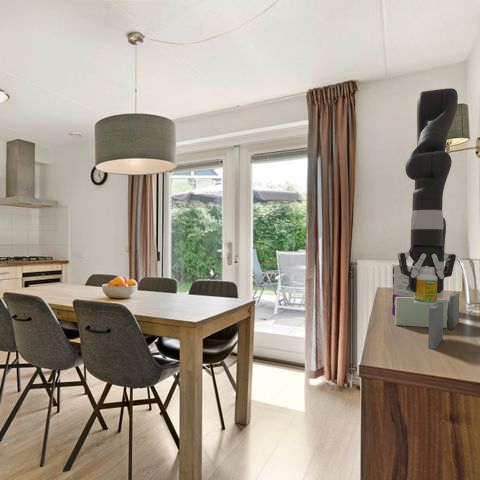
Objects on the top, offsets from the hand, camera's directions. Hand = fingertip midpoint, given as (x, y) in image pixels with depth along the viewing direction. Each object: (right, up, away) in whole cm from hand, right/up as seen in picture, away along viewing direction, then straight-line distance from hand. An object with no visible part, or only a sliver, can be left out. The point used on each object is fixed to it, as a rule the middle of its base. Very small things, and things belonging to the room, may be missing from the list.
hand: (425, 292), depth 93 cm
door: (+2, -10, +6) cm, 12 cm away
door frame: (+5, -11, 0) cm, 12 cm away
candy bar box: (+7, -11, +22) cm, 25 cm away
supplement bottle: (0, -3, 0) cm, 3 cm away
